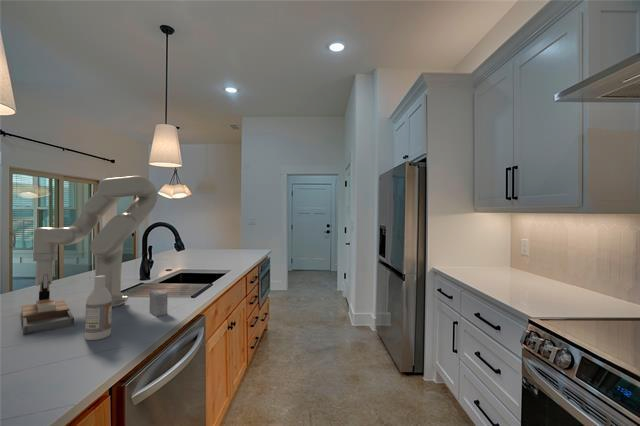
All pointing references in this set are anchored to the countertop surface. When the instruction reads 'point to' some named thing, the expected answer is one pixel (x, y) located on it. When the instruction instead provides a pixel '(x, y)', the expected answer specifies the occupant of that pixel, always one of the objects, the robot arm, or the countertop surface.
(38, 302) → the terracotta tile
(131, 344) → the countertop surface
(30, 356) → the countertop surface
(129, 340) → the countertop surface
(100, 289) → the bath foam
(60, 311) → the walnut board
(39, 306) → the cream tile
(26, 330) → the tray
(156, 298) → the medicine box
